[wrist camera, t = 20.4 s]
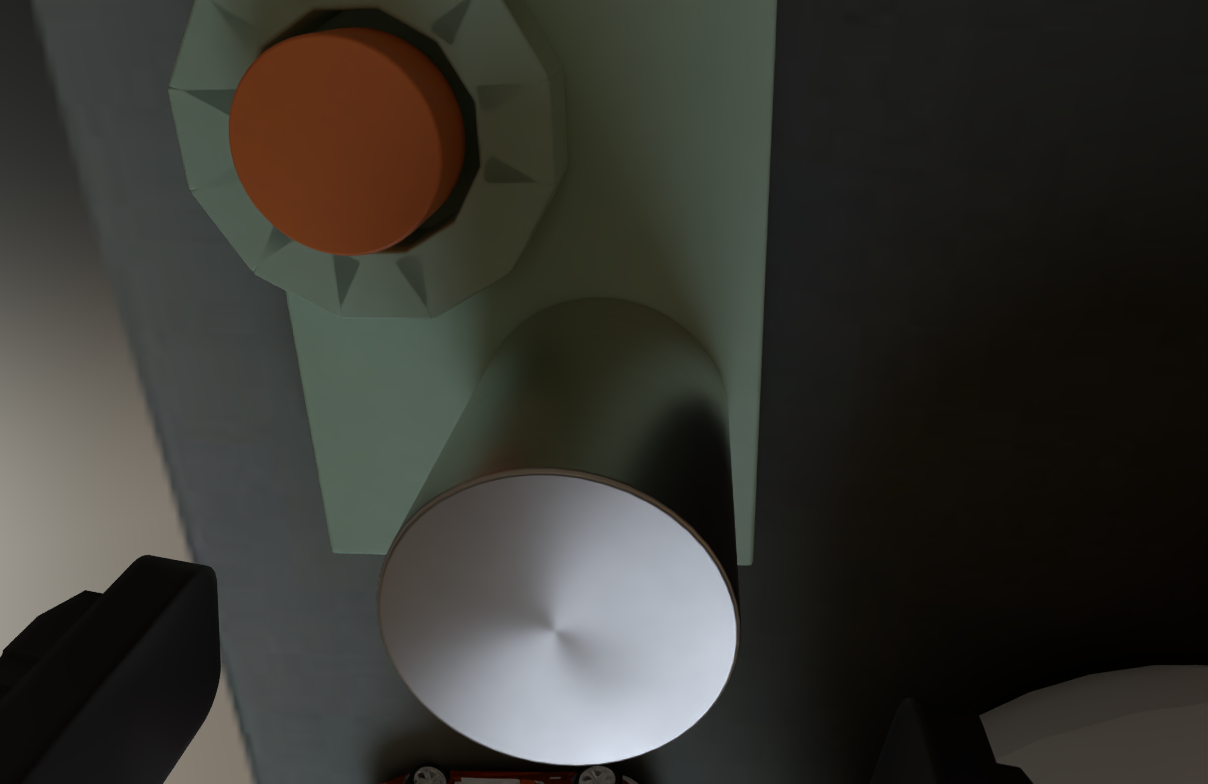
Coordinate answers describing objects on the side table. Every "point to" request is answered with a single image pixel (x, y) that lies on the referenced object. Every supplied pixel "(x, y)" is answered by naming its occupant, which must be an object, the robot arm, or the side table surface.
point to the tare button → (346, 139)
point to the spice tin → (574, 544)
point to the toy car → (511, 776)
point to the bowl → (1109, 728)
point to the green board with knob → (511, 215)
